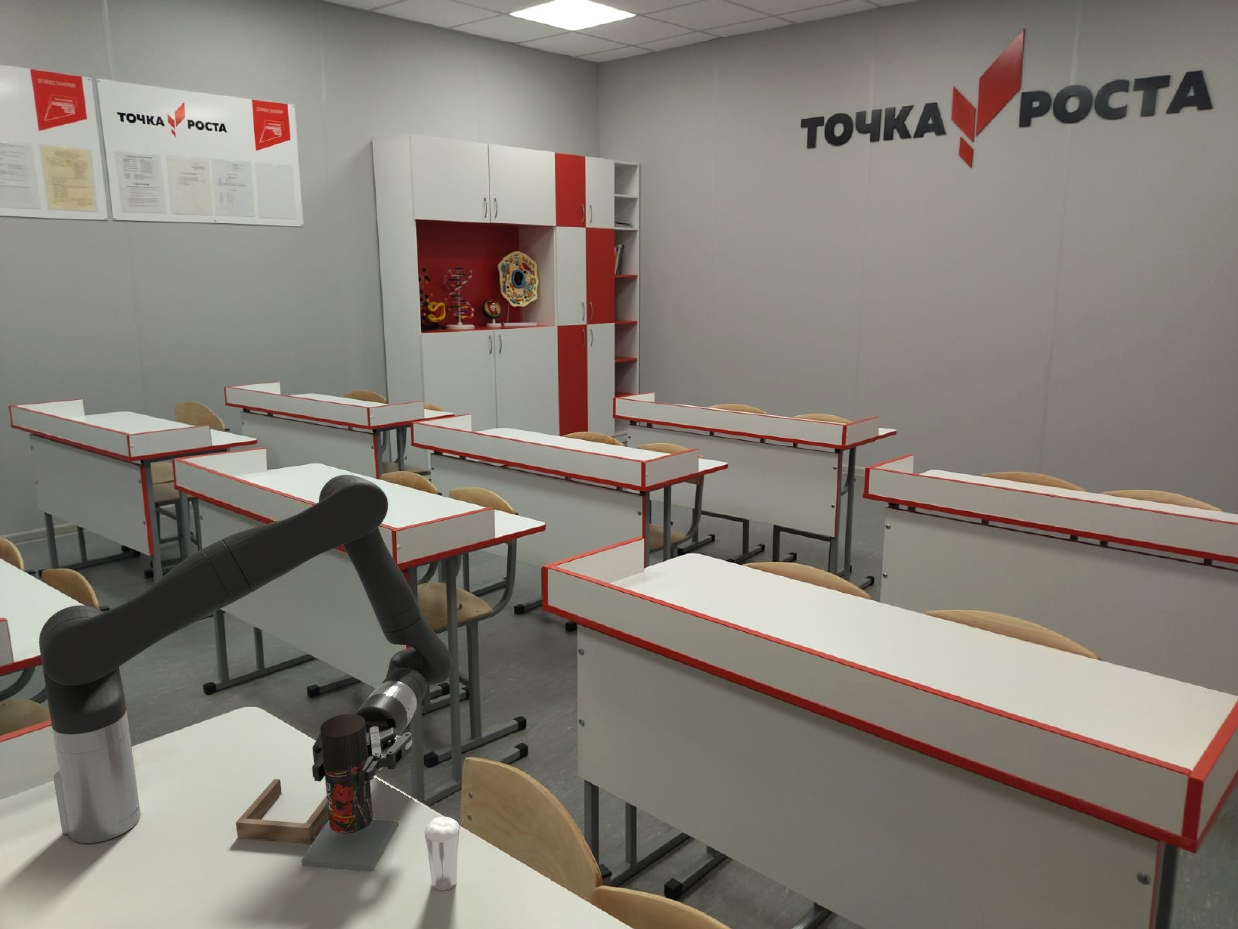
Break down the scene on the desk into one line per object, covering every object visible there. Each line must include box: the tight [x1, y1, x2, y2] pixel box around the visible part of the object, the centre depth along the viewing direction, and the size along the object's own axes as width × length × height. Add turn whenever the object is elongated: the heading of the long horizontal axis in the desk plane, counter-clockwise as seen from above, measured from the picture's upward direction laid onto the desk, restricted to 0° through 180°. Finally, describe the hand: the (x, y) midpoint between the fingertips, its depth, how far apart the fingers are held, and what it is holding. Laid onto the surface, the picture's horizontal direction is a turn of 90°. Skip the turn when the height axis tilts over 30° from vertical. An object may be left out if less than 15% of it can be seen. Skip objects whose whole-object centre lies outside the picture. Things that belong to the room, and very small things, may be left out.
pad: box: [301, 818, 399, 872], centre depth 125 cm, size 10×10×1 cm
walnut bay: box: [235, 778, 329, 845], centre depth 131 cm, size 11×11×2 cm
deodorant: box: [319, 713, 374, 834], centre depth 123 cm, size 6×6×15 cm
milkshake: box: [423, 816, 465, 891], centre depth 117 cm, size 5×5×10 cm
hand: (339, 777), depth 121 cm, fingers closed on deodorant, 6 cm apart
